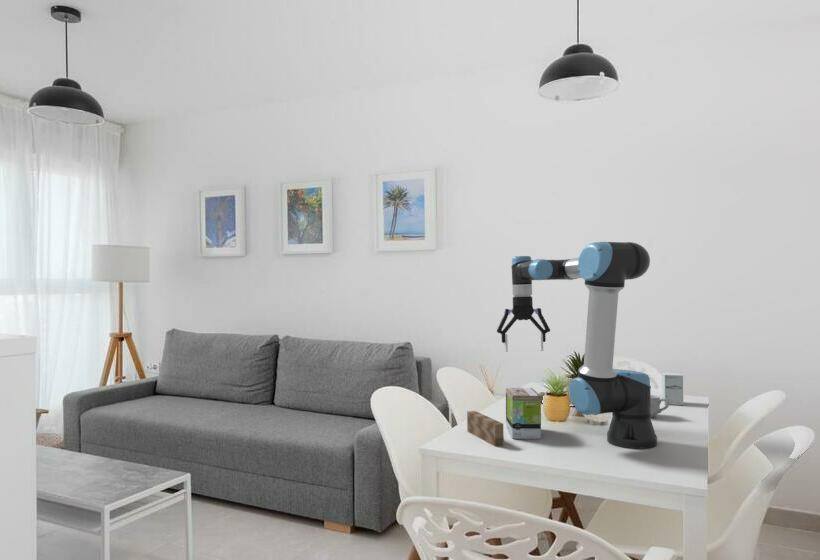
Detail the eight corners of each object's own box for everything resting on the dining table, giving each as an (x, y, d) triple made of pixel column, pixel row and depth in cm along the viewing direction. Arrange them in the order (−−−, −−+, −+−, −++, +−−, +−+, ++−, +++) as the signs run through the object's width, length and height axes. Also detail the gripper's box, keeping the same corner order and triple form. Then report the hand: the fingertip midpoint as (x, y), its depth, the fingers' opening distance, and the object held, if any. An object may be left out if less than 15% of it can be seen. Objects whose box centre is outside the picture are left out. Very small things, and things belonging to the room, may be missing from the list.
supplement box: (664, 404, 237) (663, 374, 237) (662, 401, 244) (661, 371, 244) (683, 405, 235) (683, 375, 235) (680, 402, 242) (680, 372, 242)
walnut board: (503, 445, 183) (503, 423, 183) (495, 446, 182) (495, 424, 182) (475, 430, 202) (474, 410, 202) (467, 431, 200) (467, 411, 200)
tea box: (542, 439, 189) (541, 394, 189) (512, 439, 190) (511, 395, 190) (533, 427, 204) (532, 386, 204) (505, 427, 205) (504, 386, 205)
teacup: (624, 416, 219) (624, 395, 219) (638, 411, 226) (638, 391, 226) (660, 422, 208) (660, 400, 208) (673, 417, 216) (673, 396, 216)
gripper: (552, 295, 224) (553, 349, 223) (488, 296, 224) (490, 350, 224) (557, 295, 216) (558, 351, 216) (491, 296, 216) (492, 352, 216)
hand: (523, 351), depth 220 cm, fingers open, 13 cm apart
